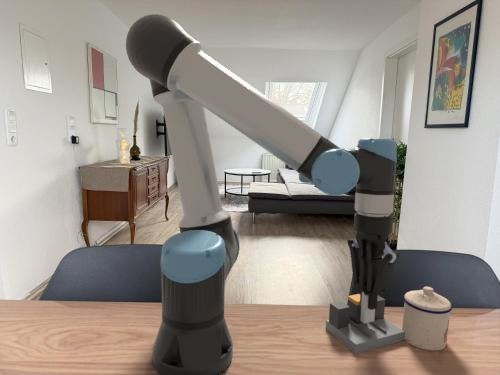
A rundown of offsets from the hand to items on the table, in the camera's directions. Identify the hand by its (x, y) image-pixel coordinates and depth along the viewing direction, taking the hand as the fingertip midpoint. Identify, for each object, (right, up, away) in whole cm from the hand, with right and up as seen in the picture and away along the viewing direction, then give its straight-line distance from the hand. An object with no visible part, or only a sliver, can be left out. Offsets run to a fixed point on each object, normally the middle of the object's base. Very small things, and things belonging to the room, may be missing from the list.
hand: (367, 320), depth 74 cm
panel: (0, -3, +1) cm, 4 cm away
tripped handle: (-1, -1, +3) cm, 4 cm away
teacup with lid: (+12, -4, +1) cm, 13 cm away
